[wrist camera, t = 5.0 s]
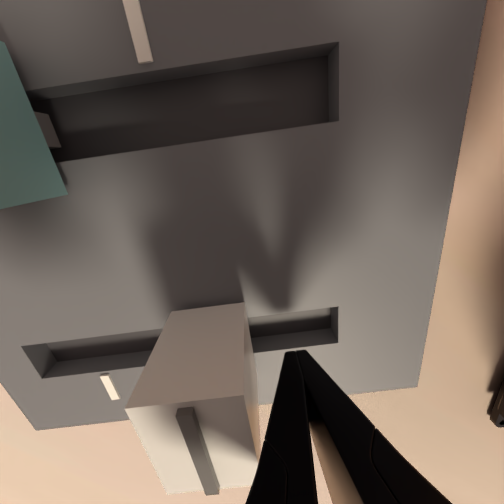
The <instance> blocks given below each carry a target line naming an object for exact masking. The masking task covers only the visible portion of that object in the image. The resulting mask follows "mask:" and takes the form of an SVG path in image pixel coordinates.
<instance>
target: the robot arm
mask: <svg viewBox="0 0 504 504" xmlns="http://www.w3.org/2000/svg"><path fill="white" fill-rule="evenodd" d="M490 420H491V421H492V422H493V423H494V424H495V425H496V426H497V427H504V380H503V383H502V385H501V388H500V391H499V394H498V396H497V399H496V402H495V404H494V407H493V410H492V413H491V415H490ZM310 432H311V435H312V438H313V442H314V445H315V448H316V451H317V455H318V458H319V461H320V464H321V467H322V471H323V474H324V477H325V480H326V483H327V487H328V490H329V493H330V496H331V500H332V503H333V504H452V503H451V502H450V501H449V500H448V499H447V498H446V497H445V496H444V495H442V494H441V493H440V492H439V491H438V490H437V489H436V488H435V487H434V486H433V485H432V484H431V483H430V482H429V481H428V480H427V479H425V478H424V477H423V476H422V475H421V474H420V473H419V472H418V471H417V470H416V469H415V468H414V467H413V466H412V465H411V464H410V463H409V462H408V461H407V460H406V459H405V458H404V457H403V456H402V455H401V454H400V453H399V452H398V451H397V450H396V449H395V448H394V447H393V445H392V444H391V443H390V442H389V441H388V440H387V439H386V438H385V437H384V436H383V435H382V433H381V432H380V431H379V430H378V429H375V426H374V425H373V424H372V422H371V421H370V420H369V419H368V418H367V417H366V416H365V415H364V414H363V412H362V411H361V410H360V409H359V408H358V407H357V406H356V405H355V404H354V402H353V401H352V400H351V399H350V398H349V397H348V396H347V395H346V394H345V392H344V391H343V390H342V389H341V388H340V387H339V386H338V385H337V384H336V382H335V381H334V380H333V379H332V378H331V377H330V376H329V375H328V374H327V372H326V371H325V370H324V369H323V368H322V367H321V366H320V365H319V364H318V363H317V361H316V360H315V359H314V358H313V357H312V356H311V355H310V354H309V353H308V351H307V350H296V351H287V352H285V354H284V358H283V362H282V367H281V371H280V375H279V379H278V384H277V388H276V392H275V397H274V401H273V405H272V409H271V414H270V418H269V422H268V426H267V431H266V435H265V441H264V443H263V447H262V451H261V455H260V459H259V463H258V466H257V470H256V474H255V477H254V480H253V483H252V486H251V489H250V492H249V495H248V498H247V501H246V504H318V499H317V490H316V481H315V472H314V463H313V454H312V445H311V436H310Z"/></svg>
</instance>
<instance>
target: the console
mask: <svg viewBox="0 0 504 504" xmlns="http://www.w3.org/2000/svg"><path fill="white" fill-rule="evenodd" d="M486 3H487V0H0V41H2V42H4V43H5V45H6V47H7V49H8V52H9V54H10V57H11V59H12V61H13V64H14V66H15V69H16V71H17V73H18V76H19V78H20V80H21V83H22V85H23V88H24V90H25V92H26V95H27V97H28V100H29V102H30V104H31V107H32V109H33V111H34V112H39V113H44V114H48V115H49V117H50V120H51V122H52V125H53V127H54V130H55V132H56V135H57V137H58V140H59V142H60V145H61V147H60V148H54V149H49V150H50V152H51V154H52V157H53V159H54V162H55V164H56V166H57V169H58V171H59V173H60V176H61V178H62V181H63V183H64V185H65V188H66V190H67V193H68V195H63V196H59V197H54V198H49V199H45V200H40V201H36V202H31V203H26V204H22V205H17V206H13V207H8V208H4V209H0V383H1V384H2V385H3V387H4V388H5V390H6V391H7V392H8V394H9V395H10V396H11V398H12V399H13V400H14V402H15V403H16V404H17V406H18V407H19V408H20V410H21V411H22V412H23V414H24V415H25V416H26V418H27V419H28V420H29V422H30V423H31V424H32V426H33V427H34V429H35V430H45V429H54V428H63V427H71V426H80V425H89V424H98V423H106V422H115V421H124V420H130V419H129V417H128V415H127V413H126V411H125V407H126V405H127V403H128V400H129V398H130V396H131V394H132V392H133V390H134V388H135V386H136V384H137V382H138V380H139V378H140V375H141V373H142V371H143V369H144V367H145V365H146V363H147V361H148V359H149V357H150V355H151V353H152V351H153V348H154V346H155V344H156V342H157V340H158V338H159V336H160V334H161V332H162V330H163V328H164V326H165V323H166V321H167V319H168V317H169V315H170V313H171V311H179V310H187V309H195V308H203V307H211V306H219V305H226V304H234V303H242V302H245V308H246V314H247V319H248V325H249V331H250V337H251V342H252V348H253V354H254V360H255V366H256V371H257V384H258V404H259V405H264V404H273V401H274V397H275V392H276V388H277V384H278V379H279V375H280V371H281V367H282V362H283V358H284V354H285V352H287V351H296V350H307V351H308V353H309V354H310V355H311V356H312V357H313V358H314V359H315V360H316V361H317V363H318V364H319V365H320V366H321V367H322V368H323V369H324V370H325V371H326V372H327V374H328V375H329V376H330V377H331V378H332V379H333V380H334V381H335V382H336V384H337V385H338V386H339V387H340V388H341V389H342V390H343V391H344V392H345V394H346V395H351V394H360V393H369V392H377V391H386V390H395V389H404V388H412V387H417V386H418V380H419V375H420V369H421V364H422V358H423V353H424V347H425V342H426V336H427V330H428V325H429V319H430V314H431V308H432V303H433V297H434V292H435V286H436V281H437V275H438V269H439V264H440V258H441V253H442V247H443V242H444V236H445V231H446V225H447V219H448V214H449V208H450V203H451V197H452V192H453V186H454V181H455V175H456V169H457V164H458V158H459V153H460V147H461V142H462V136H463V131H464V125H465V119H466V114H467V108H468V103H469V97H470V92H471V86H472V81H473V75H474V69H475V64H476V58H477V53H478V47H479V42H480V36H481V31H482V25H483V20H484V14H485V8H486Z"/></svg>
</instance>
